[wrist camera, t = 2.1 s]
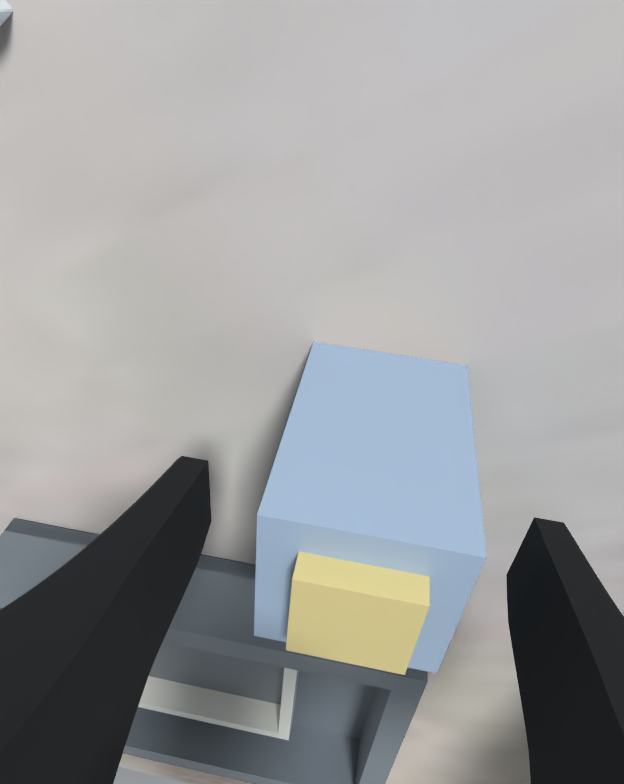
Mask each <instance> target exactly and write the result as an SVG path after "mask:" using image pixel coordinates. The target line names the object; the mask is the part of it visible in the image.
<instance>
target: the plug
mask: <svg viewBox="0 0 624 784" xmlns="http://www.w3.org/2000/svg"><path fill="white" fill-rule="evenodd" d="M485 559H486V549H485V539H484V529H483V519H482V509H481V499H480V489H479V479H478V469H477V458H476V448H475V438H474V428H473V418H472V408H471V398H470V388H469V378H468V368H467V365H460V364H454V363H448V362H441V361H435V360H428V359H422V358H416V357H409V356H403V355H397V354H390V353H384V352H377V351H371V350H365V349H358V348H352V347H345V346H339V345H333V344H326V343H320V342H313V345H312V348H311V351H310V354H309V357H308V360H307V363H306V366H305V369H304V372H303V375H302V378H301V382H300V385H299V388H298V391H297V394H296V397H295V400H294V403H293V406H292V409H291V412H290V415H289V418H288V421H287V424H286V427H285V431H284V434H283V437H282V440H281V443H280V446H279V449H278V452H277V455H276V458H275V461H274V464H273V467H272V470H271V473H270V476H269V480H268V483H267V486H266V489H265V492H264V495H263V498H262V501H261V504H260V507H259V510H258V513H257V534H256V573H255V612H254V636H258V637H263V638H268V639H273V640H278V641H282V642H286V650H287V651H292V652H297V653H301V654H306V655H311V656H316V657H321V658H325V659H330V660H335V661H340V662H345V663H349V664H354V665H359V666H364V667H369V668H373V669H378V670H383V671H388V672H393V673H397V674H402V675H405V673H406V670H407V667H408V668H413V669H418V670H422V671H427V672H432V673H437V671H438V669H439V667H440V664H441V662H442V660H443V657H444V655H445V653H446V650H447V648H448V646H449V643H450V641H451V639H452V636H453V634H454V632H455V629H456V627H457V625H458V622H459V620H460V618H461V615H462V613H463V611H464V608H465V606H466V604H467V601H468V599H469V597H470V594H471V592H472V590H473V587H474V585H475V583H476V580H477V578H478V576H479V573H480V571H481V569H482V566H483V564H484V562H485Z"/></svg>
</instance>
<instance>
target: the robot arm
mask: <svg viewBox="0 0 624 784" xmlns="http://www.w3.org/2000/svg"><path fill="white" fill-rule="evenodd" d="M210 523H211V507H210V488H209V468H208V461H207V460H201V459H195V458H190V457H184V456H182V457H180V458H179V459H177V460H176V461H175V462H174V463H173V465H172V466H171V467H170V468H169V469H168V470H167V471H166V472H165V473H164V474H163V475H162V476H161V477H160V478H159V479H158V480H157V481H156V482H155V483H154V484H153V485H152V486H151V487H150V488H149V489H148V490H147V491H146V492H145V493H144V494H143V495H142V496H141V497H140V498H139V499H138V500H137V501H136V502H135V503H134V504H133V505H132V506H131V507H130V508H129V509H128V510H127V511H125V512H124V513H123V514H122V515H121V516H120V517H119V518H118V519H117V520H116V521H115V522H114V523H113V524H112V525H110V526H109V527H108V528H107V529H106V530H105V531H104V532H102V533H101V534H100V535H99V536H98V537H97V538H95V539H94V540H93V541H92V542H91V543H90V544H88V545H87V546H86V547H85V548H84V549H83V550H81V551H80V552H79V553H78V554H77V555H75V556H74V557H73V558H72V559H70V560H69V561H68V562H66V563H65V564H64V565H63V566H61V567H60V568H59V569H57V570H56V571H55V572H54V573H52V574H51V575H49V576H48V577H47V578H45V579H44V580H43V581H41V582H40V583H39V584H37V585H36V586H35V587H33V588H32V589H30V590H29V591H27V592H26V593H24V594H23V595H21V596H20V597H18V598H17V599H16V600H14V601H13V602H11V603H10V604H8V605H7V606H5V607H4V608H2V609H1V610H0V784H113V782H114V779H115V776H116V772H117V769H118V766H119V763H120V760H121V757H122V754H123V750H124V747H125V744H126V741H127V738H128V735H129V732H130V729H131V726H132V723H133V720H134V717H135V714H136V711H137V708H138V705H139V702H140V699H141V696H142V694H143V691H144V688H145V685H146V682H147V679H148V676H149V673H150V671H151V668H152V666H153V663H154V661H155V658H156V656H157V653H158V651H159V649H160V647H161V644H162V642H163V640H164V638H165V635H166V633H167V631H168V629H169V627H170V624H171V622H172V620H173V618H174V615H175V613H176V611H177V609H178V607H179V604H180V602H181V600H182V598H183V595H184V593H185V591H186V589H187V586H188V584H189V582H190V580H191V577H192V575H193V573H194V571H195V568H196V566H197V564H198V561H199V558H200V555H201V552H202V549H203V546H204V543H205V539H206V536H207V533H208V530H209V526H210ZM507 603H508V622H509V629H510V635H511V641H512V648H513V654H514V660H515V666H516V672H517V678H518V684H519V690H520V696H521V702H522V708H523V714H524V720H525V726H526V733H527V741H528V749H529V760H530V775H531V784H624V617H623V615H622V614H621V612H620V611H619V609H618V608H617V606H616V605H615V603H614V602H613V600H612V599H611V597H610V596H609V594H608V593H607V591H606V590H605V588H604V586H603V585H602V583H601V582H600V580H599V579H598V577H597V575H596V574H595V572H594V571H593V569H592V567H591V566H590V564H589V563H588V561H587V559H586V558H585V556H584V554H583V553H582V551H581V550H580V548H579V546H578V545H577V543H576V541H575V540H574V538H573V537H572V535H571V533H570V532H569V530H568V529H567V527H566V526H565V524H564V523H563V522H557V521H551V520H545V519H540V518H534V519H533V521H532V523H531V525H530V528H529V530H528V532H527V534H526V536H525V538H524V540H523V542H522V544H521V546H520V548H519V550H518V553H517V555H516V557H515V559H514V561H513V563H512V565H511V567H510V569H509V571H508V573H507Z"/></svg>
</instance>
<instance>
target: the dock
mask: <svg viewBox="0 0 624 784" xmlns="http://www.w3.org/2000/svg"><path fill="white" fill-rule="evenodd" d="M98 536H99V535H97V534H92V533H87V532H82V531H76V530H71V529H66V528H61V527H56V526H51V525H46V524H41V523H35V522H30V521H25V520H20V519H15V518H14V519H13V520H12V522H11V523H10V524H9V525H8V527H7V528H6V529H5V531H4V532H3V533H2V534H1V536H0V610H1V609H2V608H4V607H5V606H7V605H8V604H10V603H11V602H13V601H14V600H16V599H17V598H18V597H20V596H21V595H23V594H24V593H26V592H27V591H29V590H30V589H32V588H33V587H35V586H36V585H37V584H39V583H40V582H41V581H43V580H44V579H45V578H47V577H48V576H49V575H51V574H52V573H54V572H55V571H56V570H57V569H59V568H60V567H61V566H63V565H64V564H65V563H66V562H68V561H69V560H70V559H72V558H73V557H74V556H75V555H77V554H78V553H79V552H80V551H81V550H83V549H84V548H85V547H86V546H87V545H88V544H90V543H91V542H92V541H93V540H94V539H95V538H97V537H98ZM255 573H256V565H251V564H246V563H240V562H235V561H230V560H225V559H220V558H215V557H210V556H205V555H200V558H199V561H198V564H197V566H196V568H195V571H194V573H193V575H192V577H191V580H190V582H189V584H188V586H187V589H186V591H185V593H184V595H183V598H182V600H181V602H180V604H179V607H178V609H177V611H176V613H175V615H174V618H173V620H172V622H171V624H170V627H169V629H168V631H167V633H166V635H165V638H164V640H163V642H162V644H161V647H160V649H159V651H158V653H157V656H156V658H155V661H154V663H153V666H152V668H151V671H150V673H149V676H148V679H147V682H146V685H145V688H144V691H143V694H142V696H141V699H140V702H139V705H138V708H137V711H136V714H135V717H134V720H133V723H132V726H131V729H130V732H129V735H128V738H127V741H126V744H125V747H124V750H123V753H124V754H128V755H132V756H137V757H141V758H145V759H150V760H154V761H158V762H163V763H167V764H171V765H176V766H180V767H184V768H189V769H193V770H197V771H202V772H206V773H210V774H214V775H219V776H223V777H227V778H232V779H236V780H240V781H245V782H249V783H253V784H385V783H386V780H387V778H388V775H389V773H390V770H391V768H392V766H393V763H394V761H395V758H396V756H397V754H398V751H399V749H400V746H401V744H402V742H403V739H404V737H405V734H406V732H407V730H408V727H409V725H410V722H411V720H412V718H413V715H414V713H415V710H416V708H417V706H418V703H419V701H420V698H421V696H422V694H423V691H424V689H425V686H426V684H427V671H422V670H418V669H413V668H408V667H407V670H406V673H405V675H402V674H397V673H393V672H388V671H383V670H378V669H373V668H369V667H364V666H359V665H354V664H349V663H345V662H340V661H335V660H330V659H325V658H321V657H316V656H311V655H306V654H301V653H297V652H292V651H287V650H286V642H282V641H278V640H273V639H268V638H263V637H258V636H254V612H255Z"/></svg>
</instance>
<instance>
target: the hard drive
mask: <svg viewBox="0 0 624 784" xmlns="http://www.w3.org/2000/svg"><path fill="white" fill-rule="evenodd" d="M12 12H13V9H12V8H11V7H10V5H9V4H8V3H7V1H6V0H0V27H1V25H2V24H3V23H4V22H5V21H6V19H7V18H8V17H9V16H10V15H11V13H12Z"/></svg>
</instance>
